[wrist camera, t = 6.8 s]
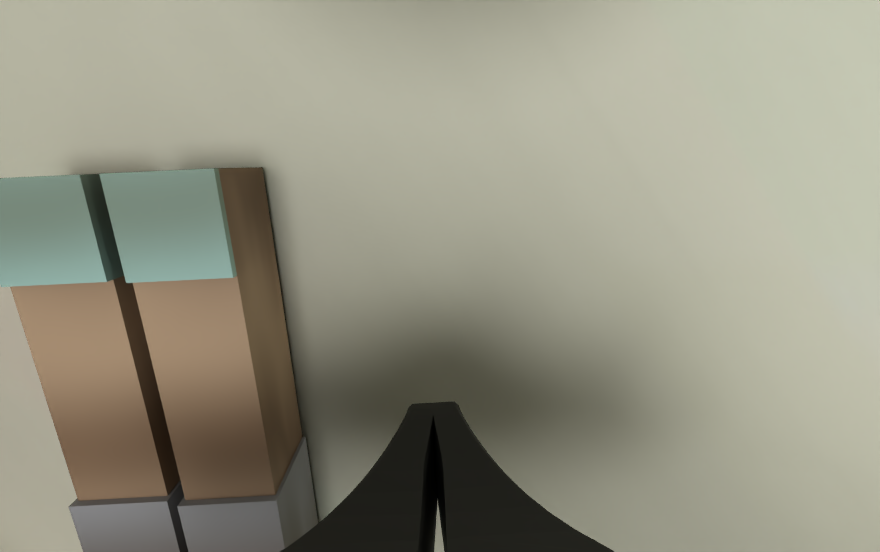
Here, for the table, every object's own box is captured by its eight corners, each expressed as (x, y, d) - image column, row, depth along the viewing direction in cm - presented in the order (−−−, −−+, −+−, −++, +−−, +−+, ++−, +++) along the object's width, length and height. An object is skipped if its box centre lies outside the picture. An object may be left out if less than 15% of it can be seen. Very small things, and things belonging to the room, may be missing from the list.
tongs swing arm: (328, 591, 15) (307, 678, 13) (256, 595, 15) (221, 683, 13) (265, 167, 12) (218, 168, 9) (170, 171, 11) (94, 174, 9)
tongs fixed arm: (301, 662, 17) (263, 815, 13) (196, 669, 16) (125, 824, 13) (215, 170, 12) (110, 172, 8) (66, 176, 12) (-114, 182, 8)
